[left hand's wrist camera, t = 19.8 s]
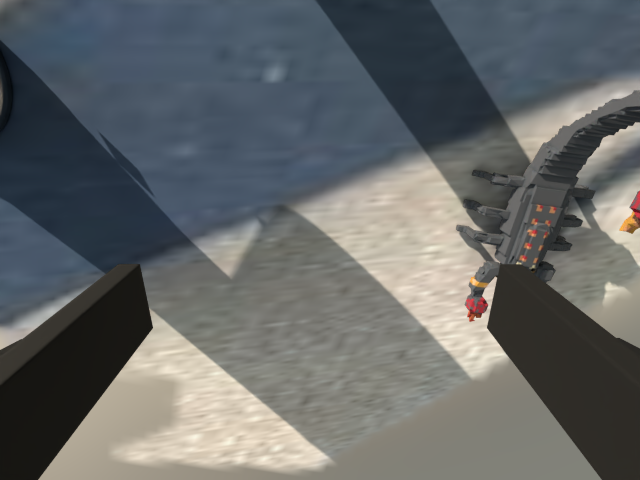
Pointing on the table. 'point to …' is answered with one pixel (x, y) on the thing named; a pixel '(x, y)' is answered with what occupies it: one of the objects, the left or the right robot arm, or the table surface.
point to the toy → (546, 198)
